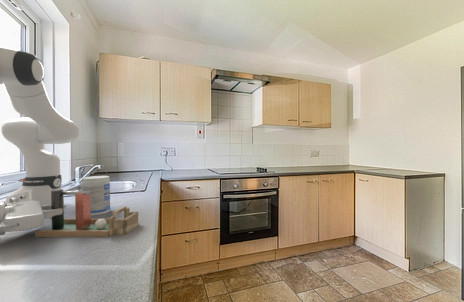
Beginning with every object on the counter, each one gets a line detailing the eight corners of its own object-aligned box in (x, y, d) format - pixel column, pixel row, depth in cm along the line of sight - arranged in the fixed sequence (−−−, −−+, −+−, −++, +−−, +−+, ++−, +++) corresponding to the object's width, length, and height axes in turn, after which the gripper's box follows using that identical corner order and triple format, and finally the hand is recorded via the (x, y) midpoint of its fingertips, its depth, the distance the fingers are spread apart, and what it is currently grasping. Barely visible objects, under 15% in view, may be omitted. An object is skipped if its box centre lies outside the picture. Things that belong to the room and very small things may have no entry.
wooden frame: (108, 238, 61) (108, 214, 61) (127, 225, 72) (127, 204, 72) (123, 238, 61) (123, 214, 61) (139, 225, 72) (139, 204, 72)
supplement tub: (111, 215, 83) (110, 177, 83) (81, 219, 78) (80, 179, 78) (109, 209, 91) (108, 174, 91) (82, 212, 86) (81, 176, 86)
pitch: (35, 239, 61) (35, 231, 61) (65, 225, 72) (65, 218, 72) (108, 239, 61) (107, 231, 61) (127, 225, 72) (127, 218, 72)
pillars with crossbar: (48, 229, 65) (48, 191, 65) (57, 226, 68) (56, 189, 68) (86, 229, 65) (85, 191, 65) (93, 226, 68) (92, 189, 68)
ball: (92, 231, 65) (92, 220, 65) (99, 227, 68) (98, 217, 68) (102, 231, 65) (102, 220, 65) (109, 227, 68) (108, 217, 68)
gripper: (-9, 216, 50) (65, 205, 60) (-2, 201, 65) (57, 193, 74) (-8, 243, 50) (66, 227, 60) (-2, 221, 65) (57, 211, 74)
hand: (61, 208), depth 67 cm, fingers open, 4 cm apart
